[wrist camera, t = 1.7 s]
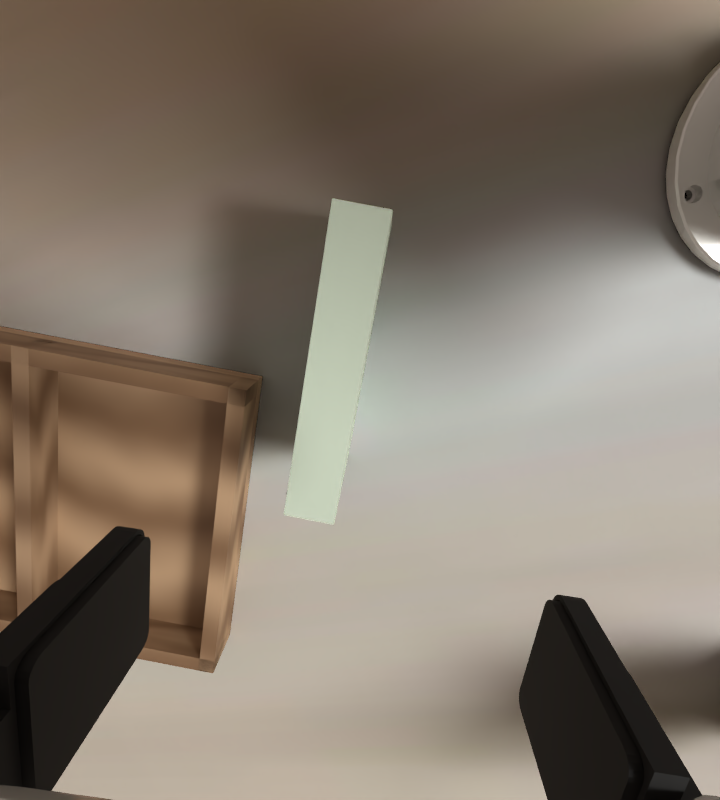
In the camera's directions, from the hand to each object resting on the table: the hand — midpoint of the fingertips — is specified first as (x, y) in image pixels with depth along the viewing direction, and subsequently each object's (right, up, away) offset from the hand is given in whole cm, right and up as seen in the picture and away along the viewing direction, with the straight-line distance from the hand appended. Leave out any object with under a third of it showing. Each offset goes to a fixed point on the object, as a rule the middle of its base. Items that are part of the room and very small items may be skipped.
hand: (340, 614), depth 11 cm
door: (0, +8, +18) cm, 20 cm away
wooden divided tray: (-16, -1, +21) cm, 27 cm away
